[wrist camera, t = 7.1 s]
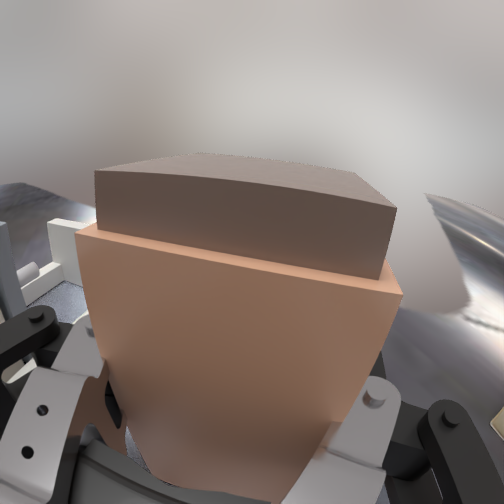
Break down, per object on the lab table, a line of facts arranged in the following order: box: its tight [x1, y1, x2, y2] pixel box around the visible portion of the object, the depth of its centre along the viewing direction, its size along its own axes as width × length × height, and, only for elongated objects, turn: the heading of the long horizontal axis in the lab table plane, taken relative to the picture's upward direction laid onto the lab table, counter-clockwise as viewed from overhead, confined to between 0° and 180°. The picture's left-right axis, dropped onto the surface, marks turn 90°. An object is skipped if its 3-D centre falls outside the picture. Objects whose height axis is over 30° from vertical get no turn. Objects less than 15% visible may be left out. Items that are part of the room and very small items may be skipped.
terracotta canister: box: [74, 153, 403, 504], centre depth 8 cm, size 5×5×11 cm
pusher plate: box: [0, 221, 40, 363], centre depth 12 cm, size 4×6×8 cm, turn 77°
